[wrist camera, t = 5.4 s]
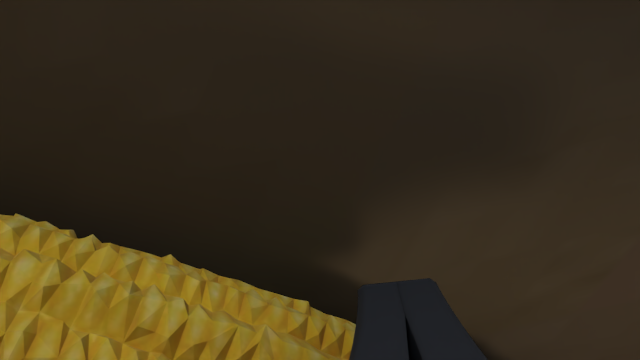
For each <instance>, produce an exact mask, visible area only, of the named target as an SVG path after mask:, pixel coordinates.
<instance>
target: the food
mask: <svg viewBox="0 0 640 360" xmlns="http://www.w3.org/2000/svg"><path fill="white" fill-rule="evenodd" d="M355 327H356V324H354V323H352V322H350V321H347V320H344V319H341V318H338V317H335V316H332V315H328V314H325V313H323V312H320V311H318V310H316V309H314V308H312V307H310V305H309V302H308V301H303V300H297V299H292V298H289V297H286V296H283V295H280V294H276V293H273V292H269V291H265V290H262V289H258V288H256V287H254V286H251V285H249V284H247V283H244V282H242V281H240V280H236V279H230V278H226V277H223V276H219V275H217V274H214V273H212V272H210V271H208V270H206V269H203V268H202V269H198V268H195V267H192V266H189V265H186V264H183V263H180V262H179V261H178V260H176V259H175V258H174V257H173V256H172V255H171V254H170V255H167V256H164V257H162V258H161V257H158V256H155V255H152V254H149V253H146V252H142V251H139V250H134V249H130V248H126V247H121V246H118V245H115V244H112V243H101V242H100V241H99V240H98V239H97V238H96V237H95V236H94V235H93V234H92V235H90V236H88V237H85V238H80V239H78V238H77V236H76V234H75V232H74V230H61V229H58V228H57V227H55V226H53V225H51V224H50V223H48V222H46V221H42V222H36V221H33V220H31V219H28V218H26V217H24V216H21V215H19V214H16V213H15V215H14V216H9V215H1V214H0V360H349V358H350V353H351V349H352V344H353V339H354V333H355Z"/></svg>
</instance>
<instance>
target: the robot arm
mask: <svg viewBox="0 0 640 360" xmlns="http://www.w3.org/2000/svg"><path fill="white" fill-rule="evenodd" d="M349 360H487V358H486V357H485V356H484V354H483V353H482V352H481V351H480V349H479V348H478V347H477V345H476V344H475V342H474V341H473V340H472V338H471V337H470V336H469V334H468V333H467V331H466V330H465V328H464V327H463V326H462V324H461V323H460V321H459V320H458V318H457V317H456V315H455V314H454V312H453V311H452V309H451V308H450V306H449V304H448V303H447V301H446V300H445V298H444V296H443V295H442V293H441V291H440V289H439V288H438V286H437V284H436V282H434V281H433V280H432V279H430V278H428V279H418V280H408V281H398V282H388V283H378V284H368V285H363V286H362V287H361V288H360V289H358V310H357V320H356V327H355V333H354V339H353V344H352V349H351V353H350V358H349Z"/></svg>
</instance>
